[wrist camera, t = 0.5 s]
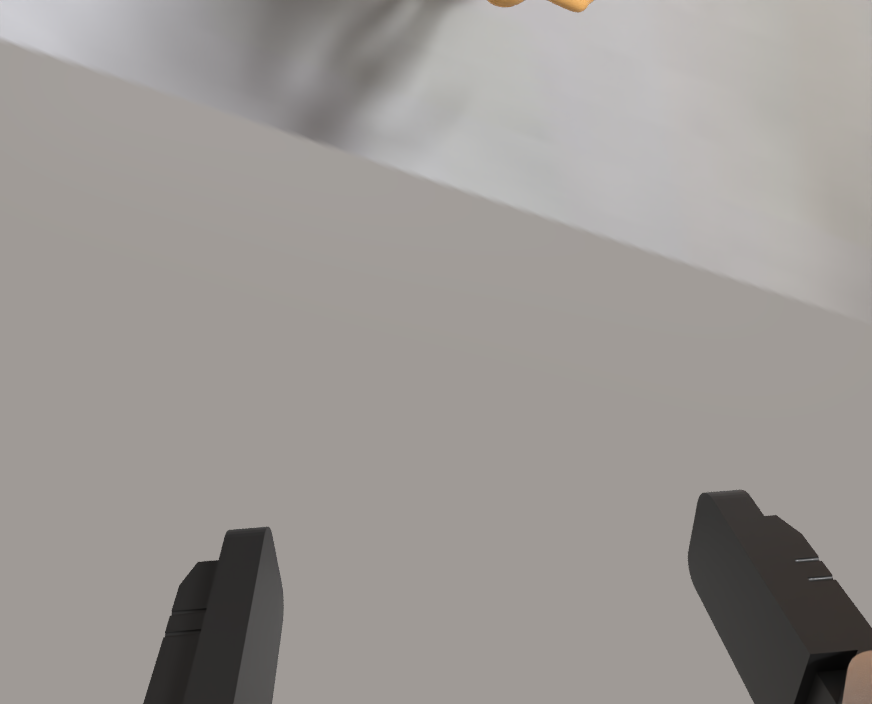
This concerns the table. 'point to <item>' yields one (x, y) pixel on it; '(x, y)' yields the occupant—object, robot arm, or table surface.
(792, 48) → the table surface
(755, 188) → the table surface
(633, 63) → the table surface
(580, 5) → the figurine
